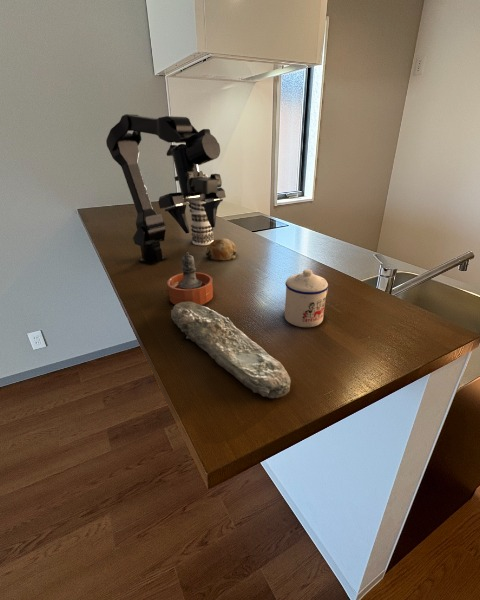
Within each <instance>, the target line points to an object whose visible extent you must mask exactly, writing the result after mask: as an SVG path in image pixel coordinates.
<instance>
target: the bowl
mask: <svg viewBox="0 0 480 600" xmlns="http://www.w3.org/2000/svg"><path fill="white" fill-rule="evenodd" d="M195 276H196V279H198V280H200V281H201V282H202V285H201V287H200V288H195V289H180V287H179V285H178V284H179V283H180V282H181V281H183V278H184V276H183V272H182V273H177V274H175V275H173V276H171V277H169V278H168V279H167V281H166V287H167V295H168V300H169V302H170V303H171V304H173V305H174V306H175V305H176V304H178V303H181V302H193V303H196V304H200V305H201V306H204V305H205V304H207V303H208V302H210V301H211V300H212V299H213V298H214V285H213V277H212V276H211V275H209V274H207V273H204V272H198V271H195Z"/></svg>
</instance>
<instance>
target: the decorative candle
mask: <svg viewBox="0 0 480 600" xmlns="http://www.w3.org/2000/svg"><path fill="white" fill-rule="evenodd" d="M203 175H204V177H209V176H208V174H206V173H203ZM197 196H198V195H197ZM188 197H191V196H188ZM204 203H206V202H204V201H203V200H198V201H191V202H188V207H189V208H190V209H189V213H190V214H191V215H190V216H191V221H190V222H191V224H190V227H191V229H190V231H191V233H190V234H191V240H192V244H193V245H196V246H209V245H210V243H211V242H213V241H214V239H215V237H214V235H215V233H214V228H212V227H211V225H210V223H209V221H208V218H207V215H206V212H205V210H204V207H203V204H204Z"/></svg>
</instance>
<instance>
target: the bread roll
mask: <svg viewBox="0 0 480 600" xmlns="http://www.w3.org/2000/svg"><path fill="white" fill-rule="evenodd" d="M213 240H214V239H213ZM205 255H206V256H208V258H209V259H211V260H213V261H217V262H218V261H229V260H233V259H235V258H236V255H237V247H236V244H235V243H234V242H233V241H232V240H229V239H228V238H220V237H219V238H217V239H215V240H214V241H213V242H211V243H210V244H209V245H207V246H206V250H205Z"/></svg>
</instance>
